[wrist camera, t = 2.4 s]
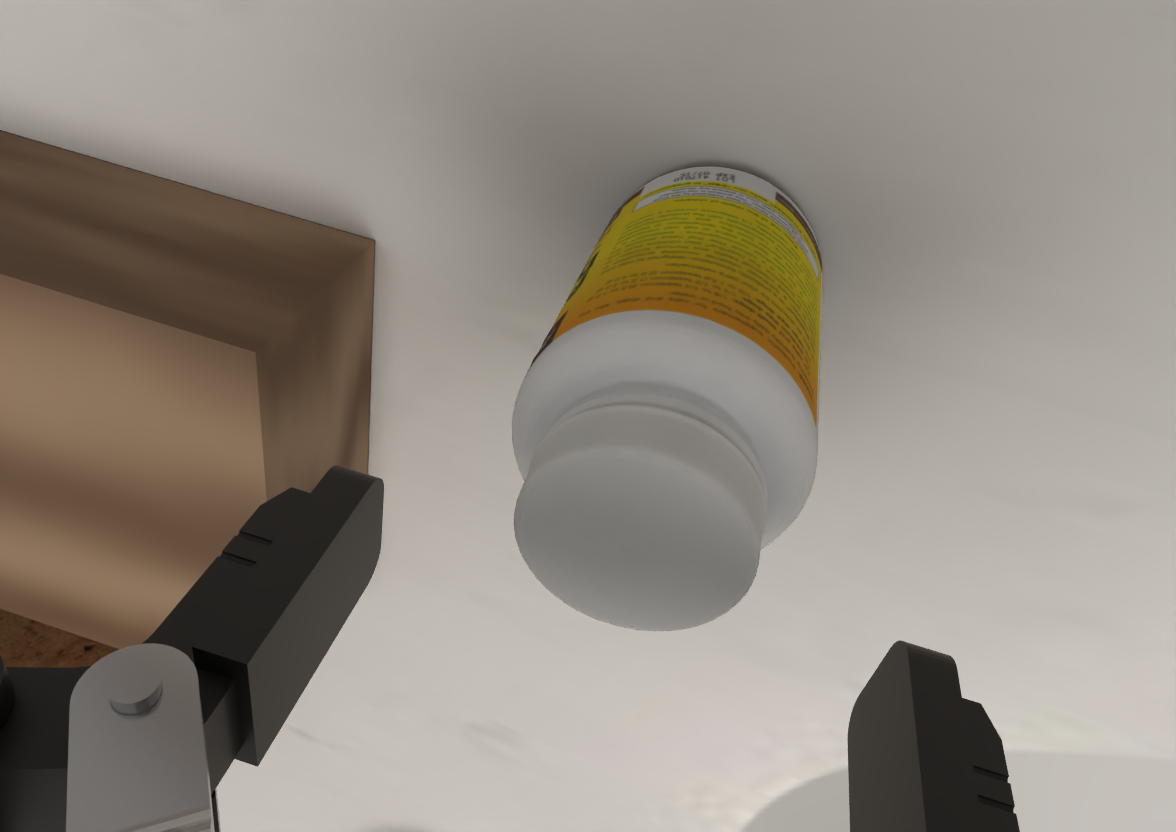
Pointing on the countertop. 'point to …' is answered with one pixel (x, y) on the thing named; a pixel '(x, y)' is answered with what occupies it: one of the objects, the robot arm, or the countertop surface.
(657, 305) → the supplement bottle
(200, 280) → the walnut riser
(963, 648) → the countertop surface
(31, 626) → the block
